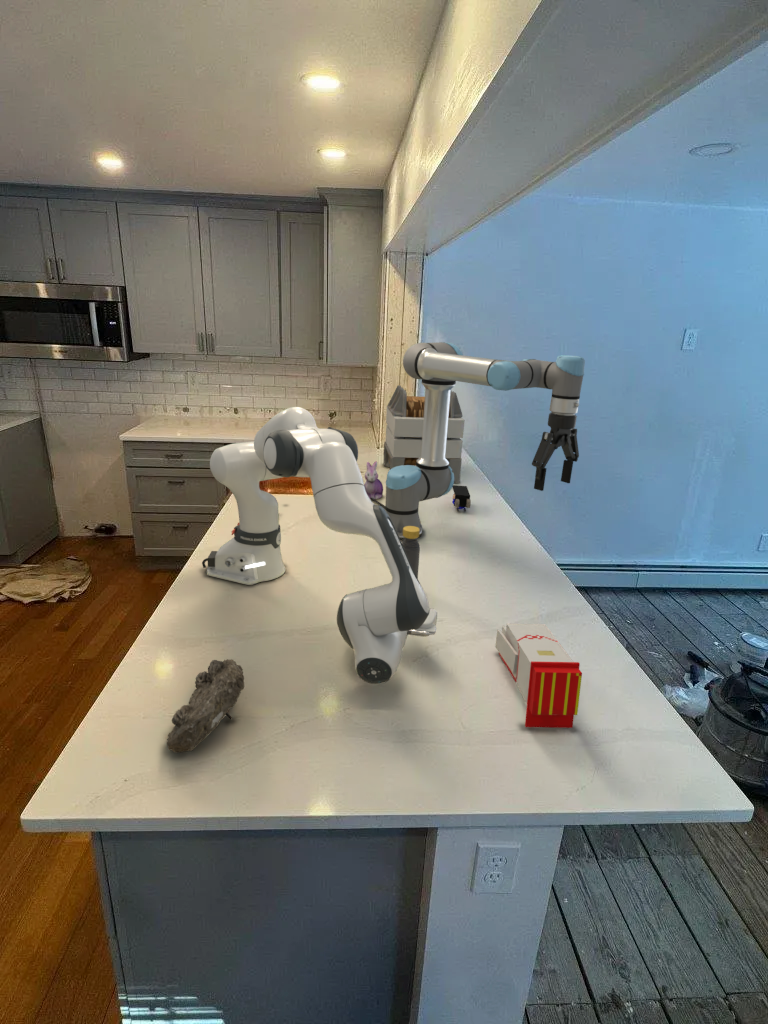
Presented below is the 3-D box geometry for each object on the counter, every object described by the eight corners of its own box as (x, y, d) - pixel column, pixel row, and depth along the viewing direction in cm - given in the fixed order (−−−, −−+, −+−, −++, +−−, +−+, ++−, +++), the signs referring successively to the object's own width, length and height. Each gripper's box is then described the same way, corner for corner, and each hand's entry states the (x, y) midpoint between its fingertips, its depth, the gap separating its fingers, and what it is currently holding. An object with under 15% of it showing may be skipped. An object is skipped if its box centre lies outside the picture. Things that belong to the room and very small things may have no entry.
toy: (542, 608, 134) (591, 669, 104) (537, 660, 136) (583, 734, 107) (491, 607, 133) (526, 668, 104) (487, 660, 136) (520, 733, 107)
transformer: (382, 463, 289) (386, 382, 275) (445, 464, 293) (451, 384, 279) (390, 482, 257) (394, 392, 243) (460, 483, 261) (468, 394, 247)
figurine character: (470, 516, 223) (465, 500, 237) (473, 499, 220) (467, 484, 233) (453, 516, 223) (449, 500, 236) (455, 498, 220) (451, 483, 233)
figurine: (368, 501, 231) (369, 466, 226) (357, 494, 239) (358, 459, 234) (388, 499, 235) (390, 464, 230) (377, 492, 244) (378, 458, 239)
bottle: (395, 585, 163) (399, 527, 157) (413, 584, 164) (417, 526, 158) (401, 594, 158) (404, 534, 152) (419, 592, 159) (423, 533, 153)
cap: (400, 533, 157) (401, 526, 156) (416, 532, 158) (416, 525, 157) (405, 539, 153) (405, 532, 152) (421, 538, 154) (421, 531, 153)
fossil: (192, 660, 117) (244, 628, 112) (224, 691, 120) (276, 661, 115) (142, 746, 98) (202, 712, 93) (182, 779, 101) (242, 748, 96)
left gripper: (436, 623, 122) (441, 594, 134) (343, 611, 125) (357, 584, 138) (434, 648, 124) (439, 617, 136) (342, 636, 127) (356, 607, 140)
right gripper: (548, 419, 148) (537, 496, 155) (598, 411, 163) (586, 482, 171) (525, 414, 153) (515, 489, 160) (575, 407, 169) (564, 476, 176)
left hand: (397, 600), depth 137 cm, fingers open, 8 cm apart
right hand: (552, 485), depth 166 cm, fingers open, 13 cm apart
